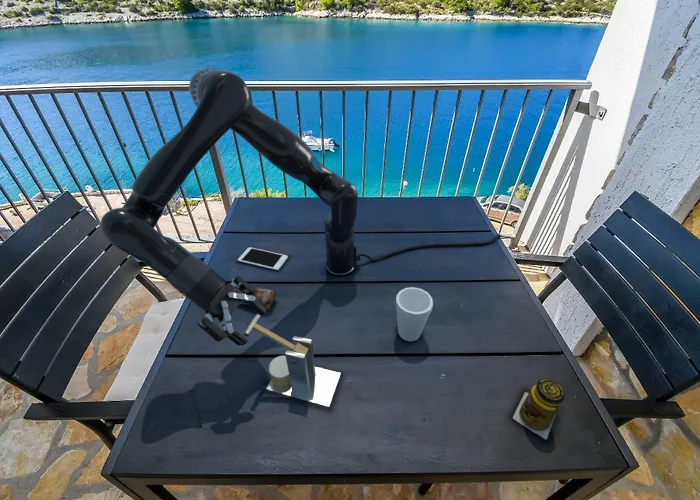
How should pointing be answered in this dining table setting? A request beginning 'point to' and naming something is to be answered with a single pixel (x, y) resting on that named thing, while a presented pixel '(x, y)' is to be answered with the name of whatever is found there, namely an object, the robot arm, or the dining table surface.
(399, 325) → the foam cup
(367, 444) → the dining table surface
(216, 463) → the dining table surface
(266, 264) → the cell phone
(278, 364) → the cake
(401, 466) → the dining table surface
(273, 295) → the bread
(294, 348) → the wood and metal t-shape
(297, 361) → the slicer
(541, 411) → the condiment
